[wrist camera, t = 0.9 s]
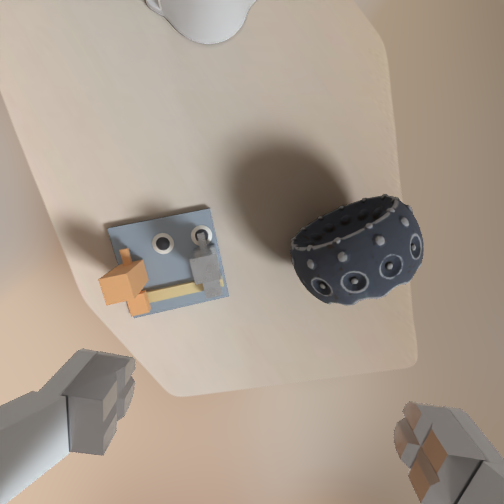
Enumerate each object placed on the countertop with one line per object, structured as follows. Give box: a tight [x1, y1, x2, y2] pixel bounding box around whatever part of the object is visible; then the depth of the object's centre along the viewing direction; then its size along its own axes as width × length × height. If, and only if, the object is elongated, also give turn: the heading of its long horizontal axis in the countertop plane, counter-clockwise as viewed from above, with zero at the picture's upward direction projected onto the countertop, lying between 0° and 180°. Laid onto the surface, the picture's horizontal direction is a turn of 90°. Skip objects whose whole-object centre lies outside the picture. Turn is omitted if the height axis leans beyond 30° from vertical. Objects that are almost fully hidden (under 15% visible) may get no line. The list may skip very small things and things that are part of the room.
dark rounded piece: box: [290, 194, 423, 305], centre depth 47 cm, size 11×20×20 cm, turn 118°
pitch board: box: [108, 208, 229, 318], centre depth 52 cm, size 17×18×2 cm
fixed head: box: [189, 232, 223, 299], centre depth 48 cm, size 12×4×10 cm, turn 11°
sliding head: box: [98, 248, 151, 317], centre depth 46 cm, size 12×4×10 cm, turn 11°
